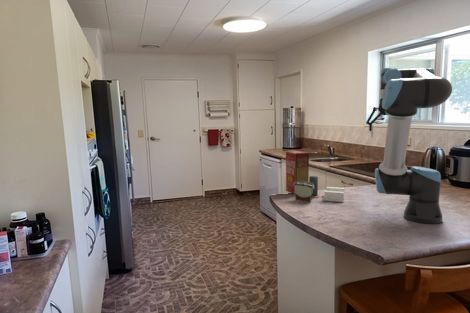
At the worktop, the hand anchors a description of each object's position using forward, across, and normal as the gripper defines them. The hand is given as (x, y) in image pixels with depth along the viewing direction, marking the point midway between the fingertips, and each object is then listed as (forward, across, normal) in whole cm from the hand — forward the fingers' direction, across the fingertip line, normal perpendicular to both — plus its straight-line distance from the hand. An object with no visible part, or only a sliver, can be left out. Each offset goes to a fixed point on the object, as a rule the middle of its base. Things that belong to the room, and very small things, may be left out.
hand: (385, 137), depth 174 cm
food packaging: (+35, +48, -1) cm, 59 cm away
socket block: (+35, +25, +6) cm, 43 cm away
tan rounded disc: (+35, +37, +6) cm, 51 cm away
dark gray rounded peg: (+34, +37, +6) cm, 51 cm away
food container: (+35, +40, +16) cm, 55 cm away
